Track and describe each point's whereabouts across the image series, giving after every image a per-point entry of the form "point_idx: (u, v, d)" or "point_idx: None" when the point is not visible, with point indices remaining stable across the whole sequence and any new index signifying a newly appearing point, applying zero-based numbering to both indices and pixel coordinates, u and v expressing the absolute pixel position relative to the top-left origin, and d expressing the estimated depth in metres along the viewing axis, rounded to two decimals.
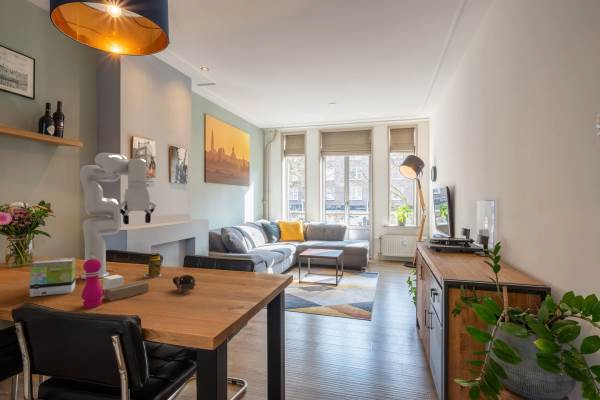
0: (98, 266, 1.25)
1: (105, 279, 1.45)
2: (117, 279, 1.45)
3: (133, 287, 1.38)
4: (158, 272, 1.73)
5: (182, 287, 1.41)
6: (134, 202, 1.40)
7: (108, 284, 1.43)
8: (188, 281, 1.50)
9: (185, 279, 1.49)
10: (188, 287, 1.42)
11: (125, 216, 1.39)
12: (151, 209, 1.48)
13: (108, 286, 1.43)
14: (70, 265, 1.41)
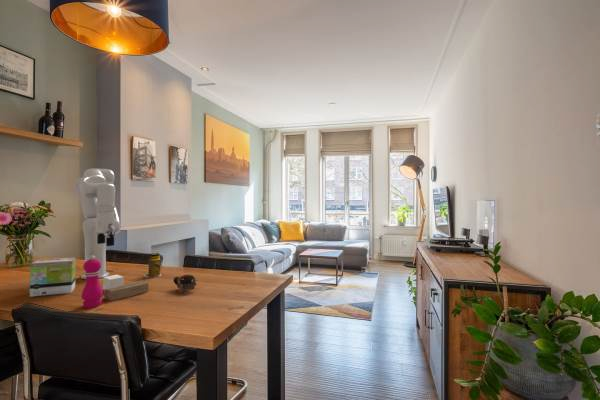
0: (98, 266, 1.25)
1: (105, 279, 1.45)
2: (117, 279, 1.45)
3: (133, 287, 1.38)
4: (158, 272, 1.73)
5: (183, 287, 1.41)
6: None
7: (108, 284, 1.43)
8: (189, 281, 1.50)
9: (186, 279, 1.49)
10: (189, 287, 1.42)
11: (112, 238, 1.49)
12: None
13: (108, 286, 1.43)
14: (70, 265, 1.41)
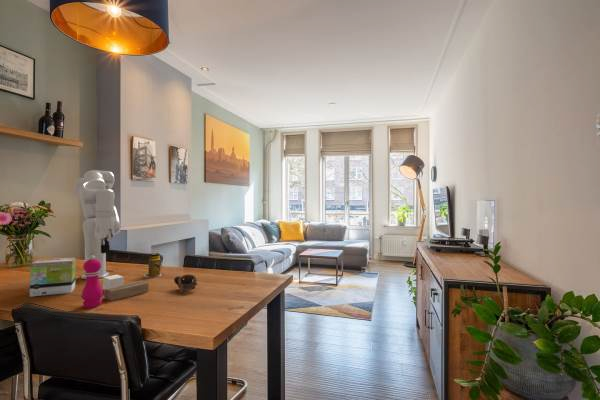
0: (98, 266, 1.25)
1: (105, 279, 1.45)
2: (117, 279, 1.45)
3: (133, 287, 1.38)
4: (158, 272, 1.73)
5: (184, 287, 1.42)
6: None
7: (108, 284, 1.43)
8: (189, 281, 1.50)
9: (186, 279, 1.50)
10: (190, 287, 1.43)
11: (107, 245, 1.52)
12: None
13: (108, 286, 1.43)
14: (70, 265, 1.41)
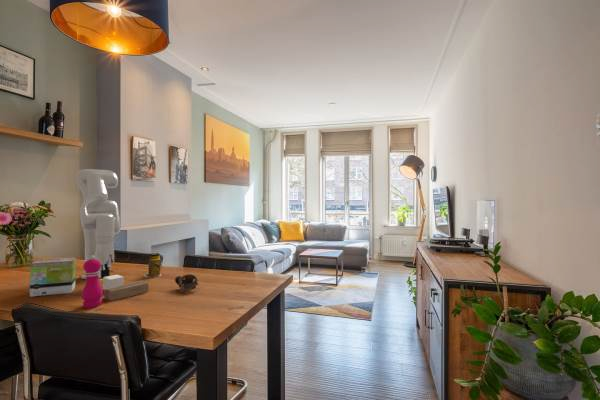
0: (98, 266, 1.25)
1: (105, 279, 1.45)
2: (117, 279, 1.45)
3: (133, 287, 1.38)
4: (158, 272, 1.73)
5: (185, 286, 1.42)
6: None
7: (108, 284, 1.43)
8: (190, 280, 1.51)
9: (187, 278, 1.50)
10: (191, 286, 1.43)
11: (107, 270, 1.52)
12: None
13: (108, 286, 1.43)
14: (70, 265, 1.41)
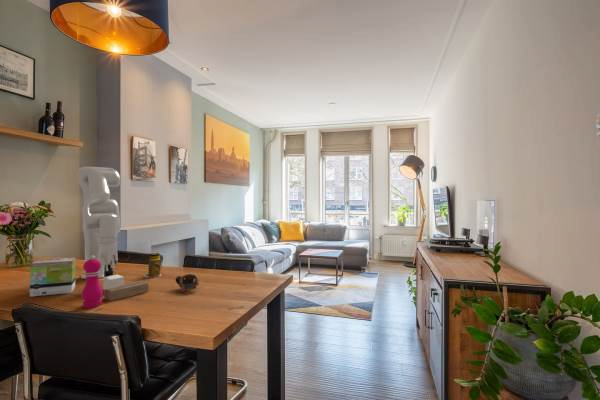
0: (98, 266, 1.25)
1: (105, 279, 1.45)
2: (117, 279, 1.45)
3: (133, 287, 1.38)
4: (158, 272, 1.73)
5: (185, 286, 1.42)
6: None
7: (108, 284, 1.43)
8: (191, 280, 1.51)
9: (188, 278, 1.50)
10: (191, 286, 1.43)
11: None
12: None
13: (108, 286, 1.43)
14: (70, 265, 1.41)
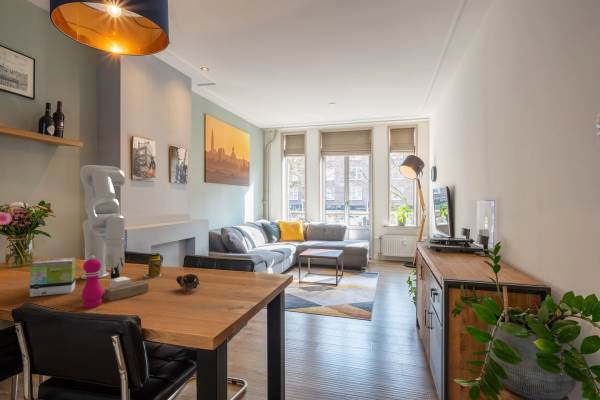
0: (98, 266, 1.25)
1: (112, 281, 1.41)
2: (124, 281, 1.41)
3: (133, 287, 1.38)
4: (158, 272, 1.73)
5: (186, 286, 1.43)
6: None
7: None
8: (191, 280, 1.51)
9: (188, 278, 1.51)
10: (192, 286, 1.44)
11: (117, 274, 1.46)
12: None
13: None
14: (70, 265, 1.41)
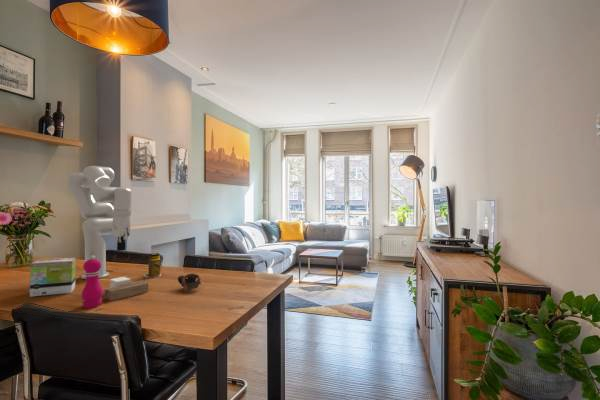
0: (98, 266, 1.25)
1: (112, 281, 1.41)
2: (124, 281, 1.41)
3: (133, 287, 1.38)
4: (158, 272, 1.73)
5: (188, 285, 1.44)
6: None
7: None
8: (193, 280, 1.52)
9: (190, 278, 1.51)
10: (194, 285, 1.44)
11: (123, 243, 1.55)
12: None
13: None
14: (70, 265, 1.41)
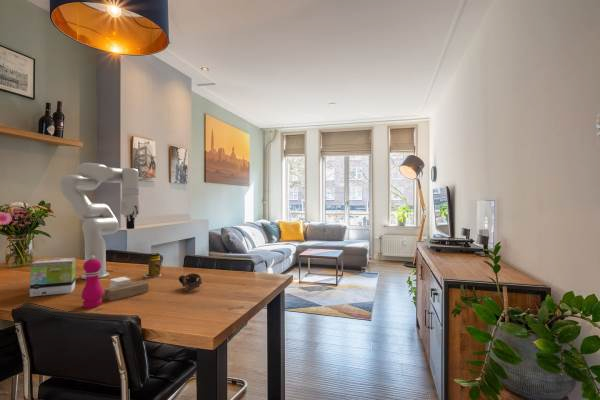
0: (98, 266, 1.25)
1: (112, 281, 1.41)
2: (124, 281, 1.41)
3: (133, 287, 1.38)
4: (158, 272, 1.73)
5: (189, 285, 1.44)
6: None
7: None
8: (194, 279, 1.53)
9: (191, 277, 1.52)
10: (195, 285, 1.45)
11: (132, 221, 1.59)
12: None
13: None
14: (70, 265, 1.41)
